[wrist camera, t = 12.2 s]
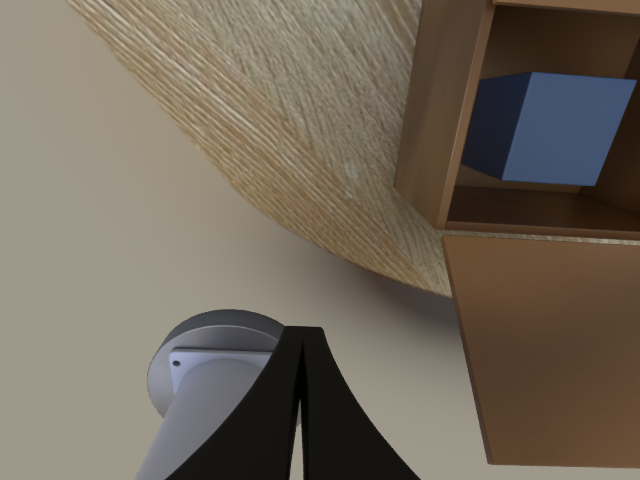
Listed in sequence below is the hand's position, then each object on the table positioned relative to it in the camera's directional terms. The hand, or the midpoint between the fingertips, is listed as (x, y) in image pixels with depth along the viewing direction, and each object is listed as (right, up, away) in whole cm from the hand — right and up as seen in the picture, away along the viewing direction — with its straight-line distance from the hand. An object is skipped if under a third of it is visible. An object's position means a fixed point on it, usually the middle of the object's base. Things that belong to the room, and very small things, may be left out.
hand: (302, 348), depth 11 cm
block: (+11, +10, +7) cm, 17 cm away
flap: (+11, +1, -1) cm, 11 cm away
